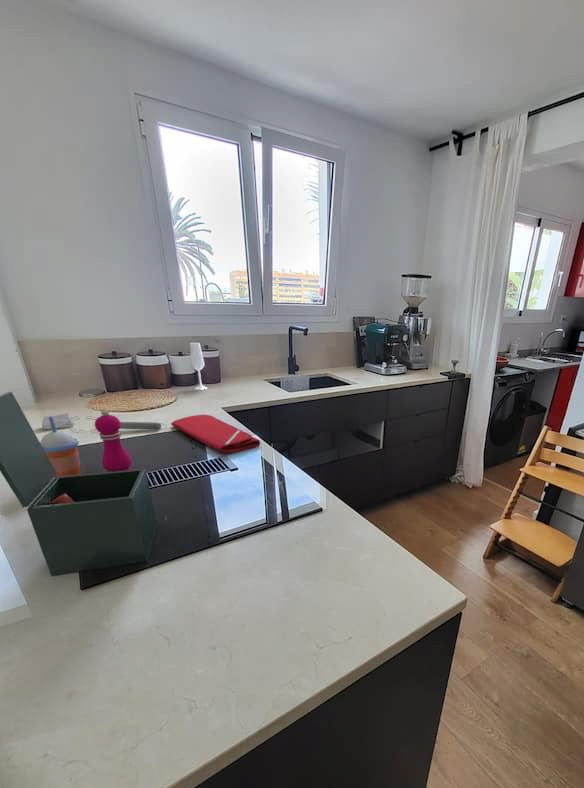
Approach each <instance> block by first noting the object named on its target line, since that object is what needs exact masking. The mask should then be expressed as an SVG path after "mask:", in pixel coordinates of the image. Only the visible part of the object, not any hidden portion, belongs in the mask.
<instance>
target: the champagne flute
mask: <svg viewBox="0 0 584 788" xmlns="http://www.w3.org/2000/svg"><path fill="white" fill-rule="evenodd" d="M189 347H190V364H191V367H192V368H193V369H194V370H195V371H197V376H198V382H199V385H198V386H196V387H195V388H194V390H196V391H203V390H204V389H205V390H208V387H207V386H205V385H203V382H202V375H201V371H202V370H203V369H204V368H205V365H206V364H205V359H204V354H203V351H202V346H201V343H200V342H190V343H189ZM205 390H204V391H205Z"/></svg>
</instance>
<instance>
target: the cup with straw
mask: <svg viewBox="0 0 584 788" xmlns="http://www.w3.org/2000/svg"><path fill="white" fill-rule="evenodd" d="M47 417H48V418H49V421H50V424H51V428H52V429H51V430H52V431H50V432H48V433H46V434H45V435H43V436H42V438H41V439H40V444H41V446H42V447H43V449H44V451H45V453H46V454H47V456H48V458H49V460H50V462H51V463H52V465H53V467H54V469H55V471H56V472H57V475H56V476H55V477H59V476H70V475H81V474H82V470H81V459H80V453H79V449H78V447H77V446H78V445H79V444H80V443H79V440H78V438H76V437H74V436H73V435H72V434H71V433H69V432H66V431H63V430H57V428H56V427H55V424H54V420H53V417H49V416H47ZM55 477H54V478H53V479H55Z"/></svg>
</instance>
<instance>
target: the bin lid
mask: <svg viewBox="0 0 584 788" xmlns="http://www.w3.org/2000/svg"><path fill="white" fill-rule="evenodd" d="M40 443H41V441H40V440H39V438H38V436H37V435H36V432H35V431H34V429H33V427H32V425H31V424H30V422H29V420H28V419H27V417H26V415H25V413H24V412H23V409H22V408H21V406H20V404H19V403H18V401H17V399H16V398H15V395H14V393H13V392H12V391H7V392H5V393H3V394H1V395H0V473H1V475H2V476H3V478H4V479H5V481H6V482H7V484H8V486H9V487H10V489H11V491H12V492H13V494H14V495H15V498H16V499H17V500H18V502H19V503H20V505H21V507H22V508H28V507H29V506H30V505H31V504H32V503H33V502H34V501H35V500H36V498H37V497H38V496H39V495H40V494H41V493H42V492H43V491H44V490H45V489H46V487H47V486H48V485H49V484H50V483H51V482H52V481H53V480H54V479H55V478H54V477H55V476H56V475H57V472H56V471H55V469H54V467H53V465H52V463H51V462H50V460H49V458H48V456H47V454H46V453H45V451H44V449H43V447H42V446H41V444H40Z"/></svg>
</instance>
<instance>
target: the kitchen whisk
mask: <svg viewBox="0 0 584 788" xmlns="http://www.w3.org/2000/svg"><path fill="white" fill-rule="evenodd" d="M88 417H89V418H88ZM88 417H86V420H93V421H96V419H97V418H98V417H96V416H94V418H93V416H92V415H91V416H90V415H88ZM90 417H91V418H90ZM74 418H75V421H78V420H79V418H78V415H75V416H73V417H71V418H70V419H71V420H74ZM70 419H69V420H70ZM70 422H71V421H70ZM70 422H68V426H70V425H73V426H74V423H73V424H69V423H70ZM120 424H121V427H120V429H119V430H162V429H163V430H164V429H166V428H168V427H167V425H166V424H164V423H161V422H149V421H146V422H145V421H120ZM162 425H164V426H165V427H163V428H162ZM68 426H67V427H66V428H68V429H69V430H71V431H72V432H74V433H77V434H79V431H80V432H83V429H78V432H77V429H75V428H73V426H72V427H71V426H70V427H68ZM95 432H99V431H98V430H96V428H95V429H92V431H91V434H94V433H95Z"/></svg>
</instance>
